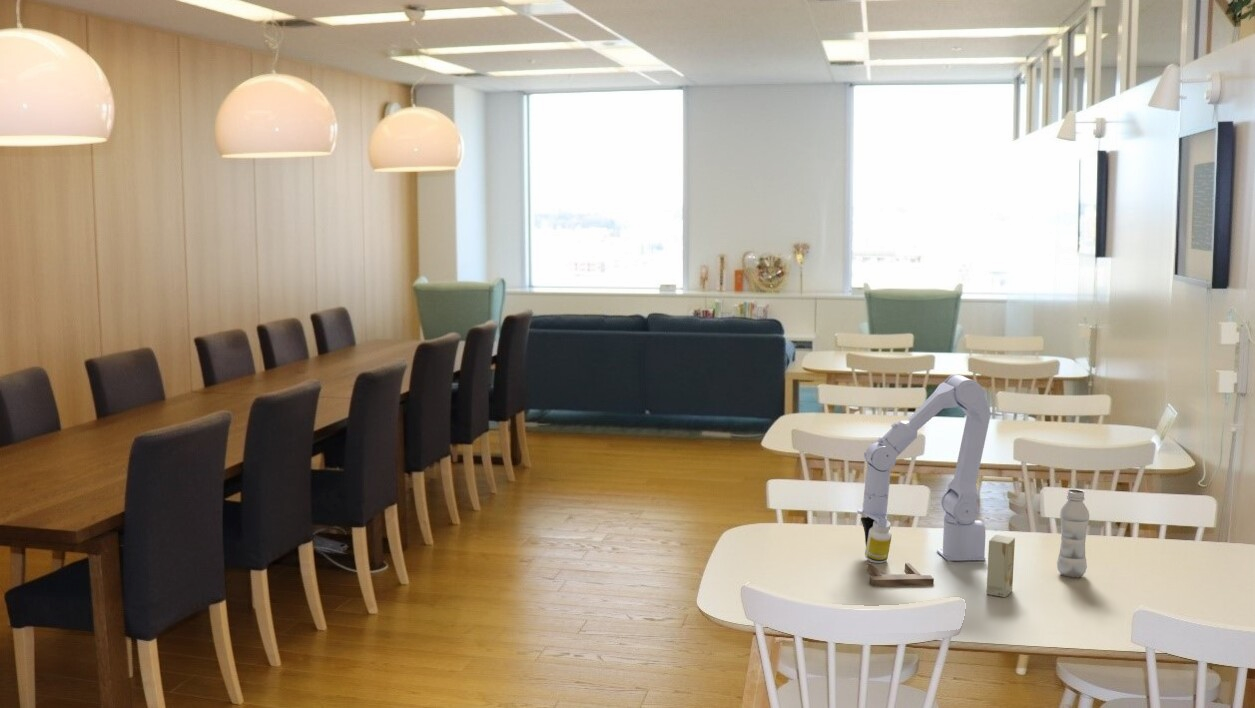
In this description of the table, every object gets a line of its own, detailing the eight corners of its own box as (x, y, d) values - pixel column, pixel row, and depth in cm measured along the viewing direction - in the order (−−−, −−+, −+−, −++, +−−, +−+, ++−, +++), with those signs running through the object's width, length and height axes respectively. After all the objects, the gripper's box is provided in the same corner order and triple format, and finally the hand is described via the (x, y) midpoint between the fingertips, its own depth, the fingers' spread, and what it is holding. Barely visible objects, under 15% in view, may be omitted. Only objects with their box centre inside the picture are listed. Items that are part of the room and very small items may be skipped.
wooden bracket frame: (917, 569, 274) (917, 562, 274) (933, 585, 263) (933, 578, 263) (858, 570, 273) (858, 563, 273) (872, 586, 262) (872, 579, 262)
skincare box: (1005, 598, 254) (1008, 543, 253) (985, 594, 257) (988, 540, 255) (1013, 590, 260) (1015, 536, 258) (993, 586, 262) (995, 533, 260)
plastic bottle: (1087, 573, 271) (1092, 489, 269) (1085, 582, 265) (1090, 496, 263) (1057, 569, 274) (1062, 486, 271) (1055, 578, 268) (1059, 493, 265)
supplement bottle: (891, 563, 279) (897, 528, 274) (869, 564, 278) (875, 529, 273) (882, 550, 283) (888, 516, 279) (861, 551, 282) (866, 517, 278)
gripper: (852, 484, 287) (847, 538, 289) (867, 500, 273) (862, 556, 275) (880, 486, 288) (875, 539, 290) (897, 502, 273) (891, 557, 275)
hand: (870, 547), depth 282 cm, fingers closed, pressing on supplement bottle
